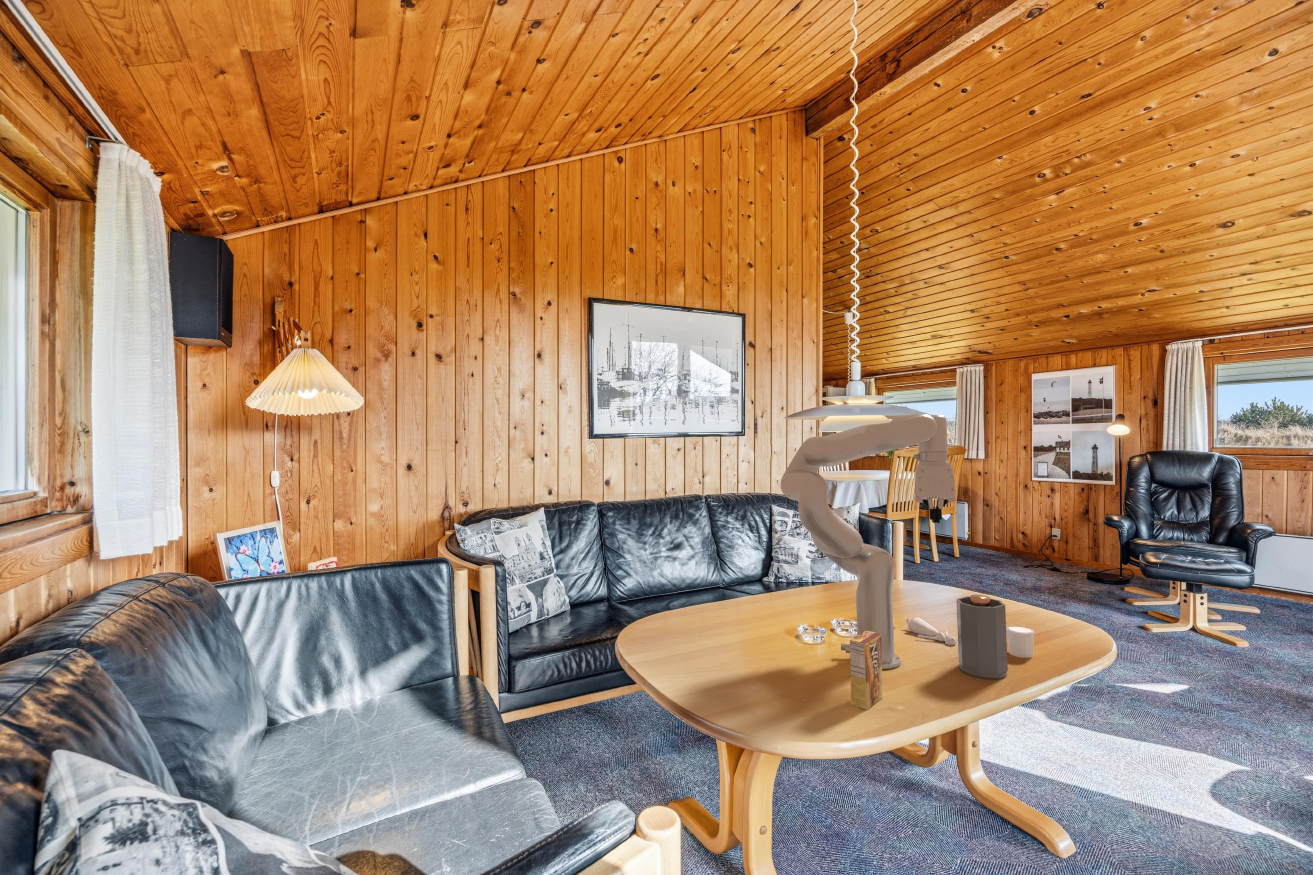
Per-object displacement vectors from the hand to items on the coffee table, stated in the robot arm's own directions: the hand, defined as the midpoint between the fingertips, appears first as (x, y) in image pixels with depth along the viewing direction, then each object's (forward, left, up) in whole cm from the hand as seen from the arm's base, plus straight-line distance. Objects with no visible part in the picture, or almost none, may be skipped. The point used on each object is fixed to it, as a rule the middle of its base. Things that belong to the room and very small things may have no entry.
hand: (935, 522), depth 167 cm
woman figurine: (0, +14, -38) cm, 40 cm away
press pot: (+8, -10, -37) cm, 39 cm away
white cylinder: (+21, +3, -37) cm, 43 cm away
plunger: (+8, -12, -34) cm, 37 cm away
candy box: (-22, -37, -37) cm, 57 cm away
